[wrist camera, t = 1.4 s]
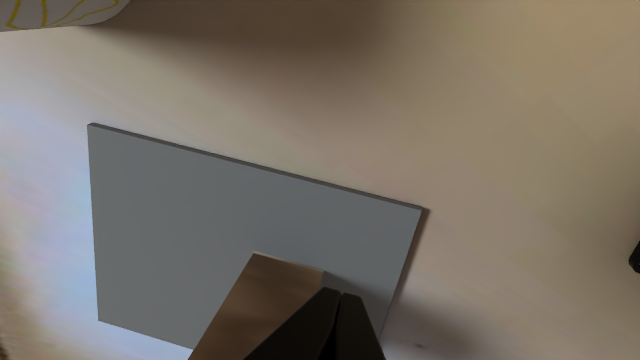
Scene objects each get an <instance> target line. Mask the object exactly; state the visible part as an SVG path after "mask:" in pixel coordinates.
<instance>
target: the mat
mask: <svg viewBox="0 0 640 360" xmlns="http://www.w3.org/2000/svg"><path fill="white" fill-rule="evenodd" d="M87 131H88V148H89V166H90V183H91V200H92V218H93V235H94V252H95V270H96V287H97V305H98V321H102V322H105V323H108V324H111V325H115V326H118V327H121V328H124V329H128V330H131V331H134V332H137V333H141V334H144V335H147V336H150V337H154V338H157V339H160V340H163V341H167V342H170V343H173V344H176V345H180V346H183V347H186V348H189V349H193V350H194V349H195V347H196V346H197V344H198V342H199V341H200V339H201V337H202V336H203V334H204V332H205V331H206V329H207V328H208V326H209V324H210V323H211V321H212V319H213V318H214V316H215V315H216V313H217V311H218V310H219V308H220V306H221V305H222V303H223V302H224V300H225V298H226V297H227V295H228V293H229V292H230V290H231V289H232V287H233V285H234V284H235V282H236V280H237V279H238V277H239V276H240V274H241V272H242V271H243V269H244V267H245V266H246V264H247V263H248V261H249V259H250V258H251V256H252V254H253V253H254V251H257V252H260V253H264V254H268V255H271V256H275V257H278V258H282V259H286V260H289V261H293V262H296V263H300V264H303V265H307V266H311V267H314V268H318V269H321V270H324V271H323V275H322V280H321V284H320V288H322V287H323V286H327V287H331V288H334V289H338V290H340V291H341V295H342V293H343V292H348V293H352V294H355V295H359V296H361V298H362V299H363V302H364V305H365V307H366V310H367V312H368V315H369V317H370V320H371V323H372V325H373V328H374V330H375V333H376V335H377V338H378V340H379V337H380V334H381V331H382V328H383V325H384V322H385V319H386V316H387V313H388V310H389V307H390V304H391V301H392V298H393V295H394V292H395V289H396V286H397V283H398V280H399V277H400V274H401V271H402V269H403V266H404V263H405V260H406V257H407V254H408V251H409V248H410V245H411V242H412V239H413V236H414V233H415V230H416V227H417V224H418V221H419V218H420V215H421V212H422V207H419V206H416V205H412V204H408V203H404V202H400V201H396V200H392V199H388V198H384V197H380V196H377V195H373V194H369V193H365V192H361V191H357V190H353V189H349V188H345V187H341V186H338V185H334V184H330V183H326V182H322V181H318V180H314V179H310V178H306V177H302V176H298V175H295V174H291V173H287V172H283V171H279V170H275V169H271V168H267V167H263V166H259V165H256V164H252V163H248V162H244V161H240V160H236V159H232V158H228V157H224V156H220V155H217V154H213V153H209V152H205V151H201V150H197V149H193V148H189V147H185V146H181V145H178V144H174V143H170V142H166V141H162V140H158V139H154V138H150V137H146V136H142V135H138V134H135V133H131V132H127V131H123V130H119V129H115V128H111V127H107V126H103V125H99V124H96V123H90V124H88V125H87ZM320 288H319V289H320ZM340 299H341V298H340Z"/></svg>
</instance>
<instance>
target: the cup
mask: <svg viewBox="0 0 640 360" xmlns="http://www.w3.org/2000/svg"><path fill="white" fill-rule="evenodd" d="M129 2H130V0H0V32H5V31H17V30H29V29H41V28H54V27H66V26H78V25H90V24H97V23H100V22H103V21H106V20H108V19H110V18H112V17H113V16H115V15H116V14H118V13H119V12H120V11H121V10H122V9H123V8H124V7H125V6H126V5H127V4H128V3H129Z"/></svg>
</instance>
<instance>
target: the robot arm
mask: <svg viewBox="0 0 640 360" xmlns="http://www.w3.org/2000/svg"><path fill="white" fill-rule="evenodd" d="M639 263H640V241H639V243H638V245H637V246H636V248H635V250H634V251H633V253H632V254H631V256H630V258H629V265H630V266H631V267H632V268H633V269H634V271H635V272H637V273H639V274H640V265H639ZM340 298H341V299H340ZM242 360H386V358H385V356H384V353H383V351H382V348H381V346H380V343H379V341H378V338H377V335H376V333H375V330H374V328H373V325H372V323H371V320H370V317H369V315H368V312H367V310H366V307H365V305H364V302H363V299H362V298H361V296H359V295H355V294H352V293H348V292H343V293H342V295H341V291H340V290H338V289H334V288H331V287H327V286H323V287H322V288H320V289H319V290H318V291H317V292H316V293H315V294H314V295H313V296H312V297H310V298H309V299H308V300H307V301H306V302H305V303H304V304H303V305H302V306H301V307H299V308H298V309H297V310H296V311H295V312H294V313H293V314H292V315H291V316H289V317H288V318H287V319H286V320H285V321H284V322H283V323H282V324H281V325H279V326H278V327H277V328H276V329H275V330H274V331H273V332H272V333H271V334H269V335H268V336H267V337H266V338H265V339H264V340H263V341H262V342H261V343H260V344H258V345H257V346H256V347H255V348H254V349H253V350H252V351H251V352H250V353H248V354H247V355H246V356H245V357H244V358H243V359H242Z"/></svg>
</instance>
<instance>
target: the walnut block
mask: <svg viewBox="0 0 640 360" xmlns="http://www.w3.org/2000/svg"><path fill="white" fill-rule="evenodd" d="M323 271H324V270H321V269H318V268H314V267H311V266H307V265H303V264H300V263H296V262H293V261H289V260H286V259H282V258H278V257H275V256H271V255H268V254H264V253H260V252H257V251H254V253H253V254H252V256H251V258H250V259H249V261H248V263H247V264H246V266H245V267H244V269H243V271H242V272H241V274H240V276H239V277H238V279H237V280H236V282H235V284H234V285H233V287H232V289H231V290H230V292H229V293H228V295H227V297H226V298H225V300H224V302H223V303H222V305H221V306H220V308H219V310H218V311H217V313H216V315H215V316H214V318H213V319H212V321H211V323H210V324H209V326H208V328H207V329H206V331H205V332H204V334H203V336H202V337H201V339H200V341H199V342H198V344H197V346H196V347H195V349H194V350H193V352H192V354H191V355H190V357H189V359H188V360H242V359H243V358H244V357H245V356H246V355H247V354H248V353H250V352H251V351H252V350H253V349H254V348H255V347H256V346H257V345H258V344H260V343H261V342H262V341H263V340H264V339H265V338H266V337H267V336H268V335H269V334H271V333H272V332H273V331H274V330H275V329H276V328H277V327H278V326H279V325H281V324H282V323H283V322H284V321H285V320H286V319H287V318H288V317H289V316H291V315H292V314H293V313H294V312H295V311H296V310H297V309H298V308H299V307H301V306H302V305H303V304H304V303H305V302H306V301H307V300H308V299H309V298H310V297H312V296H313V295H314V294H315V293H316V292H317V291H318V290H319V288H320V284H321V280H322V275H323Z"/></svg>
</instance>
